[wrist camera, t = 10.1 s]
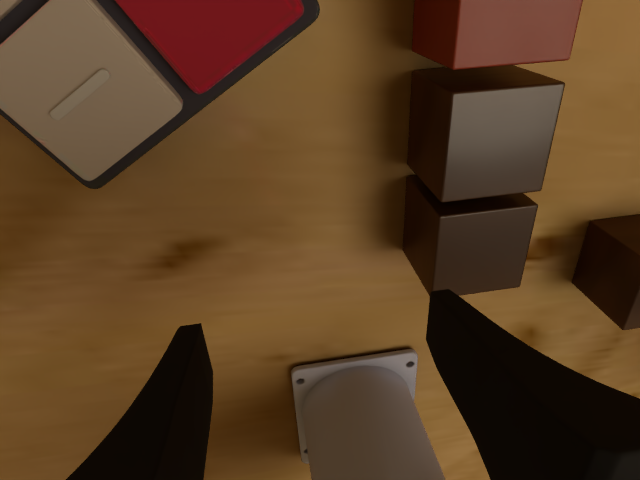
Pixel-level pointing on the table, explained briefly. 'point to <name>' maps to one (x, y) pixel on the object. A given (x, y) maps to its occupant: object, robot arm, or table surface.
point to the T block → (481, 130)
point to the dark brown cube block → (466, 239)
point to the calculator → (128, 70)
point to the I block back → (612, 269)
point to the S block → (494, 31)
